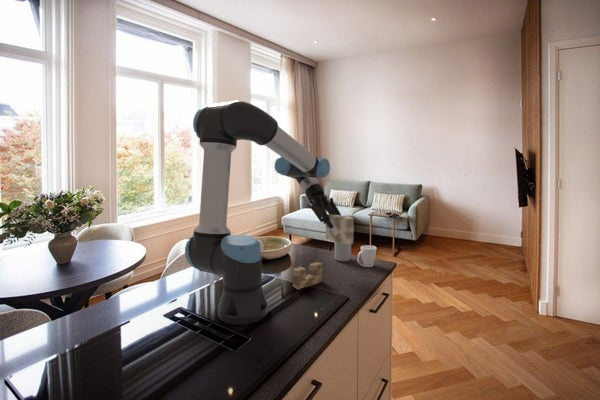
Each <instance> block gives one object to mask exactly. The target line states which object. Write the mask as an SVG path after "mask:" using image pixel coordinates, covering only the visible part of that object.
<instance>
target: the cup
mask: <svg viewBox="0 0 600 400" xmlns="http://www.w3.org/2000/svg"><path fill="white" fill-rule="evenodd" d="M377 250H378V247H377V246H375V245H369V244H368V245H367V244H366V245H362V246H360V251H359V252H358V254H357V259H356V260H357V263H358V265H360V266H362V267H363V268H364V267H366V268H371V267H373V266H374V263H375V260H376V253H377ZM360 256H361V260H362V263H361V262H360Z"/></svg>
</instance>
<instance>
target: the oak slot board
mask: <svg viewBox="0 0 600 400" xmlns="http://www.w3.org/2000/svg"><path fill="white" fill-rule="evenodd" d="M308 270H309V271H308V272H309V273H308V274H307V268H305V267H302V266H298V267H295V268H292V288H293V287H294V288H293V289H295V288H296V289H295V290H297V289H298V290H297V291H299V289H300V290H302V289H301V288H303V289H305V288H308V287H312V286H314V285H317V284H319V283H322V282H323V263H321V262H317V261H314V262H312V263H309V268H308ZM304 287H305V288H304Z"/></svg>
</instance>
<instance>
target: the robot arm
mask: <svg viewBox="0 0 600 400" xmlns="http://www.w3.org/2000/svg"><path fill="white" fill-rule="evenodd" d="M192 129H193V131H194V132H195V135H196V137H197V138H199V146H200V148H202V149H203V159H202V174H201V177H202V178H201V191H200V204H199V218H198V219H199V220H198V221H199V222H198V223H199V224H198V226H196V227H195V228H194V229H193V234H192V235H191V236H190V237H189V240H187V241H186V243H185V247H184V255H185V256H184V257H185V259H186V261H187V263H188V264H189V266H191V267H192V268H194V269H196V270H198V271H199V272H203V273H209V274H213V275H216V276H218V277H219V276H220V277H222V294H221V296H220V299H219V303H218V306H217V315H218V316H217V317H218V318H219V320H220V321H221V322H223V323H226V324H230V325H236V326H237V325H249V324H253V323H256V322H259V321H260V320H263V319H265V318H266V317H267V316H268V313H269V303H268V300H267V298H266V295H265V292H264V290H263V284H262V280H263V279H262V277H263V275H262V274H263V272H262V269H263V268H262V266H263V265H262V263H263V262H262V261H263V260H262V256H263V255H262V254H263V253H262V252H261V246H260V243H259V241H258V240H259V239H257V238H255V237H253V236H250V235H247V234H231V233H232V232H231V230H230V229H229V227H228V224H227V222H228V208H229V206H228V205H229V194H230V193H229V192H230V177H231V164H232V163H231V162H232V152H234V151H235V150H236V149H237V148H238V147H237V144H238V141H239V140H241V141H243V140H244V141H250V142H254V143H255V144H257V145H258V146H265V147H267V148H268V149H269V150H271V151H272V152H274V153H276V154H277V155H278V156H279V157H277V158H276V160H275V162H274V170H275V172H276V173H277V174H280V175H281V176H284V177H289V178H291V179H295V180H296V181H297V183H298V185H299V186H300V188H301V189H302V191H303V192H304V195H305V196H306V198H307V200H308V202H307V206H308V207H309V208H310V209H311V210H312V212H313V213H314V215H315V217H316V218H317V219H318V220H319V221H320V222H321V223H323V224H324V225H326V224H327V225H328V227H329V228H330V229H331V230H332V232H333V234H334V235H335V236H337V235H338V234H339V233H340V231H339V230H338V228H337V226H336V225H335V223H334V222H333V220H332V219H330V218H329V216H328V214H334V215H340V216H342V214H341V212H340V210H339V209H338V207H337V204H336V203H335V202H334V198H333V197H330V198H329V197H328V196H327V195H325V190H324V188H323V187H322V185H321V184H320V183H319V181H318V179H320V178H326V177H327V176H328V175H329V174H330V170H331V164H330V161H329V160H328V158H325V157H317V156H315V155H314V154H313V153H312V152H310V150H308V149H307V148H306V147H305V146H303V145H302V144H301V143H299V142H298V141H297V140H296V139H295V138H294V137H292V136H291V135H289V133H287V132H286V131H285V130H284V129H282V128H281V127H280V126H279V124H278V121H277V120H276V119H275V118H274V117H273V116H272V115H270V114H269V113H268V112H266V111H265V110H263V109H261V108H260V107H258V106H256V105H254V104H252V103H249V102H247V101H241V100H232V101H225V102H220V103H219V102H218V103H215V102H214V103H210V104H207V105H203V106H202V107H200V108H199V109H198V110H197V111H196V113H195V115H194V117H193V122H192ZM329 219H330V220H329Z"/></svg>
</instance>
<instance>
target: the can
mask: <svg viewBox="0 0 600 400" xmlns="http://www.w3.org/2000/svg"><path fill="white" fill-rule="evenodd" d="M334 259H335V260H336V261H338V262H341V263H342V262H343V263H344V262H349V261H350V260H351V259H352V244H349V245H348V244H344V243H340V242H336V241H334Z"/></svg>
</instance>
